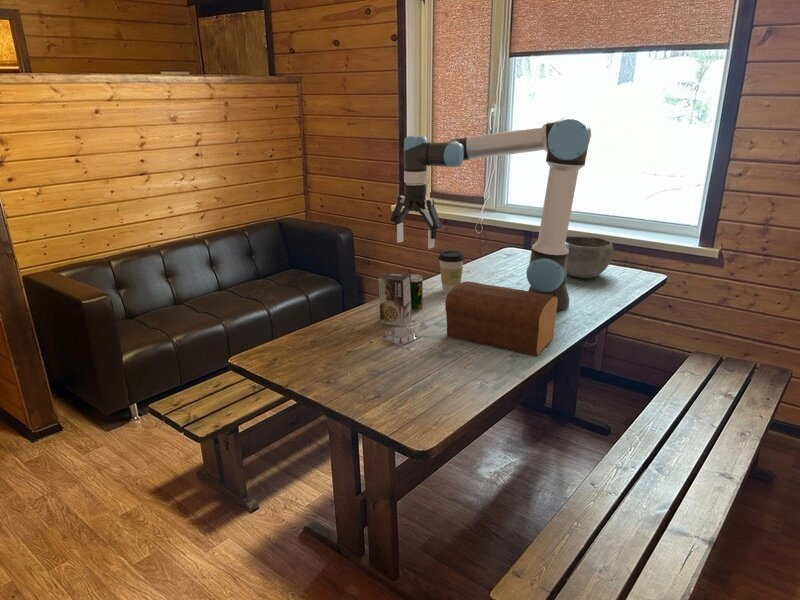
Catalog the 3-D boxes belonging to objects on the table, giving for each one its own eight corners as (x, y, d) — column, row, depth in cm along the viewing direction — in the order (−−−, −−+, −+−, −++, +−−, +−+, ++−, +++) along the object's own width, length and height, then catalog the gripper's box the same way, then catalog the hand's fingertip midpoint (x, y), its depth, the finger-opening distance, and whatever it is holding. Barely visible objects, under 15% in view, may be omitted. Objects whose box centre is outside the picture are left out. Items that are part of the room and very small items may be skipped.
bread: (536, 359, 166) (540, 306, 161) (443, 338, 181) (444, 289, 176) (555, 337, 181) (560, 288, 175) (468, 319, 196) (469, 274, 190)
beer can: (405, 311, 203) (405, 278, 199) (409, 305, 208) (409, 273, 204) (420, 312, 202) (420, 279, 198) (424, 307, 207) (424, 275, 203)
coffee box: (412, 320, 195) (411, 274, 189) (404, 327, 189) (403, 280, 184) (387, 316, 199) (386, 271, 193) (379, 323, 193) (377, 277, 188)
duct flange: (421, 337, 182) (421, 332, 181) (400, 346, 176) (400, 340, 175) (400, 329, 188) (400, 324, 187) (379, 337, 182) (379, 332, 181)
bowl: (617, 284, 228) (621, 246, 222) (563, 284, 228) (566, 247, 223) (600, 268, 247) (604, 233, 242) (550, 268, 248) (553, 234, 242)
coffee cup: (464, 295, 217) (465, 257, 212) (438, 295, 218) (438, 257, 212) (462, 287, 227) (463, 249, 221) (437, 287, 227) (437, 250, 222)
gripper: (452, 185, 191) (451, 248, 198) (393, 178, 205) (394, 237, 213) (439, 188, 185) (438, 252, 192) (379, 181, 200) (381, 241, 207)
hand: (415, 244), depth 203 cm, fingers open, 13 cm apart
